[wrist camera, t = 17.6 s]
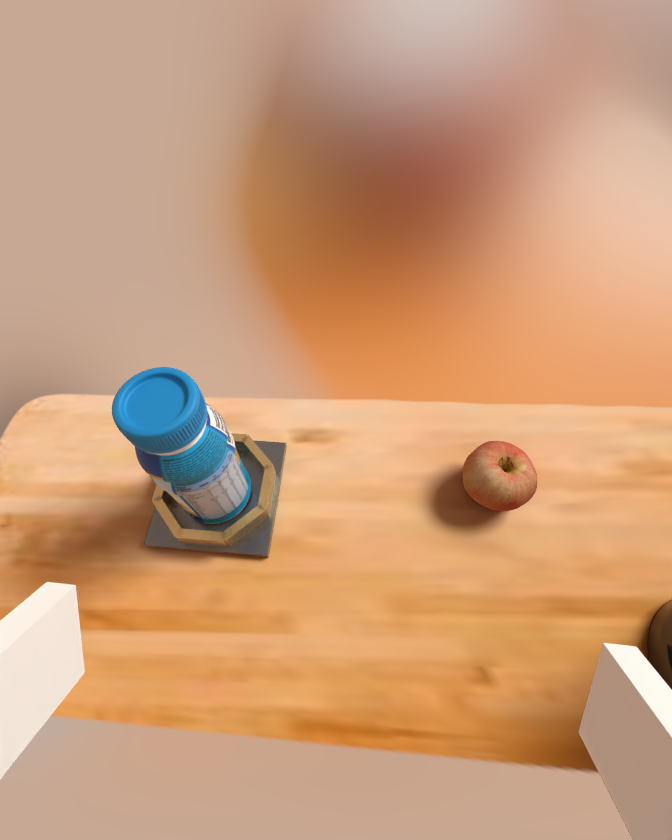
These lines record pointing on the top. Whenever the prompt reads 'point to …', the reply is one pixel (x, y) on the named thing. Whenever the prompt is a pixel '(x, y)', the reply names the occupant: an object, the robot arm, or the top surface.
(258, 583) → the top surface
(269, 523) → the flange base
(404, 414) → the top surface
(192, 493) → the beverage bottle
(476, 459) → the apple
